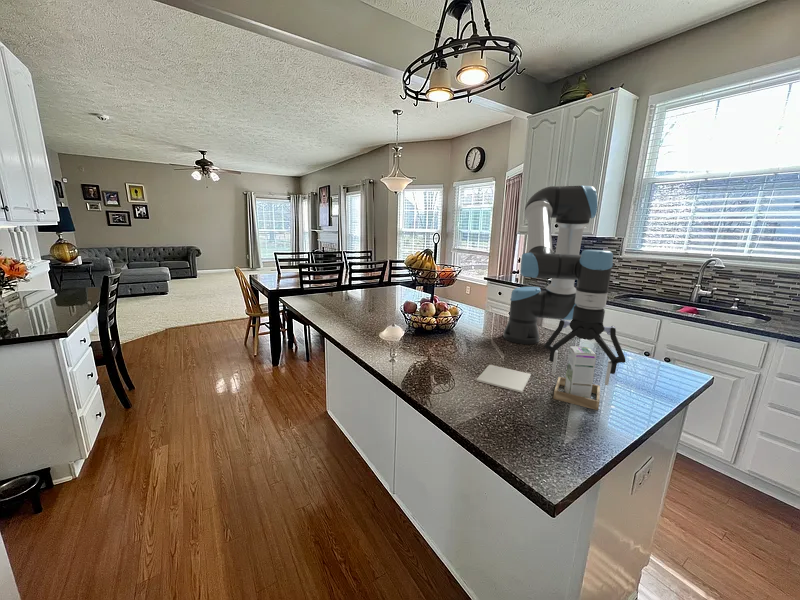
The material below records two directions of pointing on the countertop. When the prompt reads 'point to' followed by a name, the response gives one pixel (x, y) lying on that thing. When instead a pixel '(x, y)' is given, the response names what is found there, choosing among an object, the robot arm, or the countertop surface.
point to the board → (504, 378)
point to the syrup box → (580, 371)
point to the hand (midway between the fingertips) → (579, 377)
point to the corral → (577, 399)
